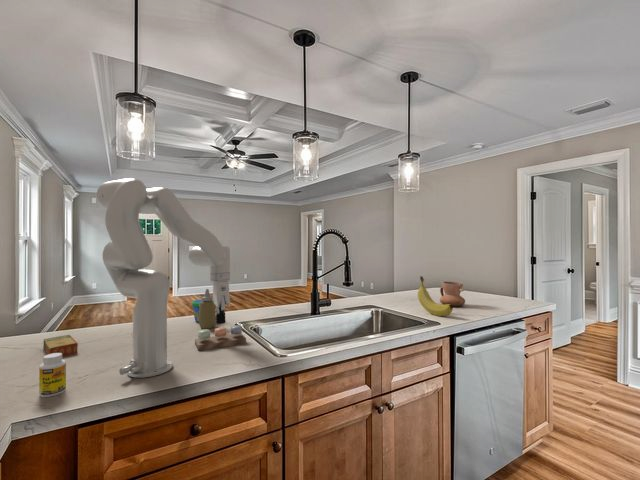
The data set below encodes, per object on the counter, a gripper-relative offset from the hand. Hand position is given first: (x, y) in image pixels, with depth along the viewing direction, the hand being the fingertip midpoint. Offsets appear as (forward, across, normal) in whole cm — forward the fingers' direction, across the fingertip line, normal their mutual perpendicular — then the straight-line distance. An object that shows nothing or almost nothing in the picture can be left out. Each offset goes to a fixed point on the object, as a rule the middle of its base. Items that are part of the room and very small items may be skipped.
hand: (220, 323), depth 129 cm
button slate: (+5, 0, -6) cm, 8 cm away
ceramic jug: (+9, +8, -141) cm, 141 cm away
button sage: (+5, 0, +6) cm, 8 cm away
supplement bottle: (+8, -21, +48) cm, 53 cm away
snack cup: (+8, +42, +1) cm, 42 cm away
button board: (+8, 0, 0) cm, 8 cm away
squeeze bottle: (+8, +28, +1) cm, 29 cm away
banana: (+9, -5, -112) cm, 113 cm away
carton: (+8, +20, +54) cm, 59 cm away
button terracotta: (+5, 0, 0) cm, 5 cm away
